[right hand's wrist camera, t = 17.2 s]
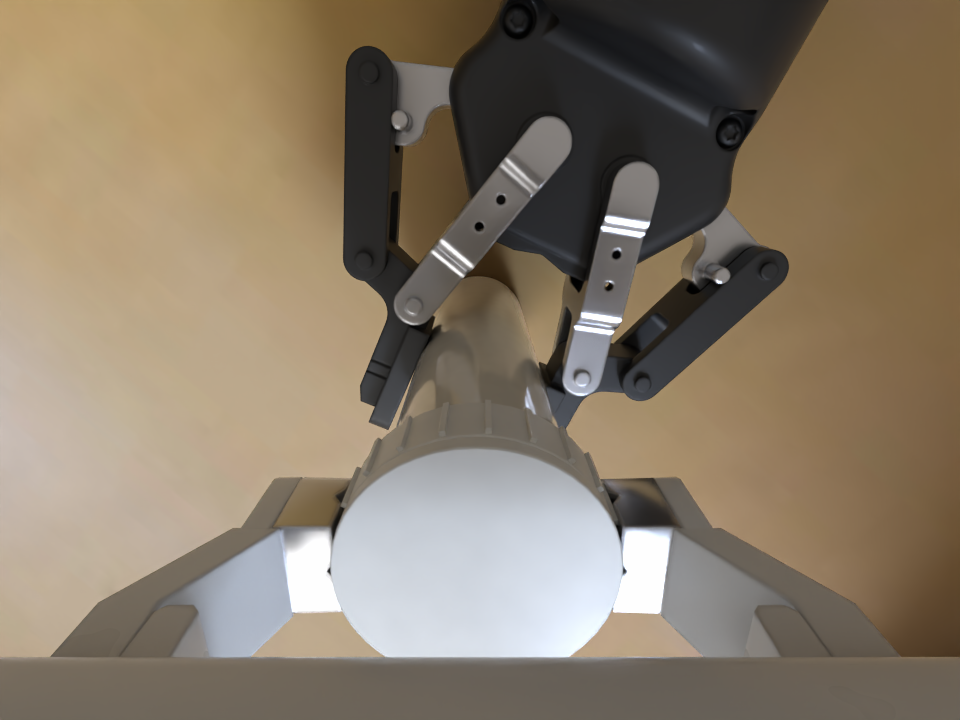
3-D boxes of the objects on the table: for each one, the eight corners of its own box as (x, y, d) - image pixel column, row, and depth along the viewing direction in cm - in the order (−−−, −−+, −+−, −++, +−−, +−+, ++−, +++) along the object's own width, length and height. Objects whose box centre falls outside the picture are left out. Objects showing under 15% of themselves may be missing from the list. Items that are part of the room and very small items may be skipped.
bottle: (416, 307, 23) (316, 520, 9) (491, 257, 23) (512, 403, 8) (466, 377, 24) (448, 663, 10) (539, 331, 24) (630, 572, 9)
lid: (519, 647, 11) (525, 722, 10) (307, 552, 10) (277, 619, 9) (657, 475, 10) (691, 531, 8) (423, 349, 9) (412, 386, 7)
